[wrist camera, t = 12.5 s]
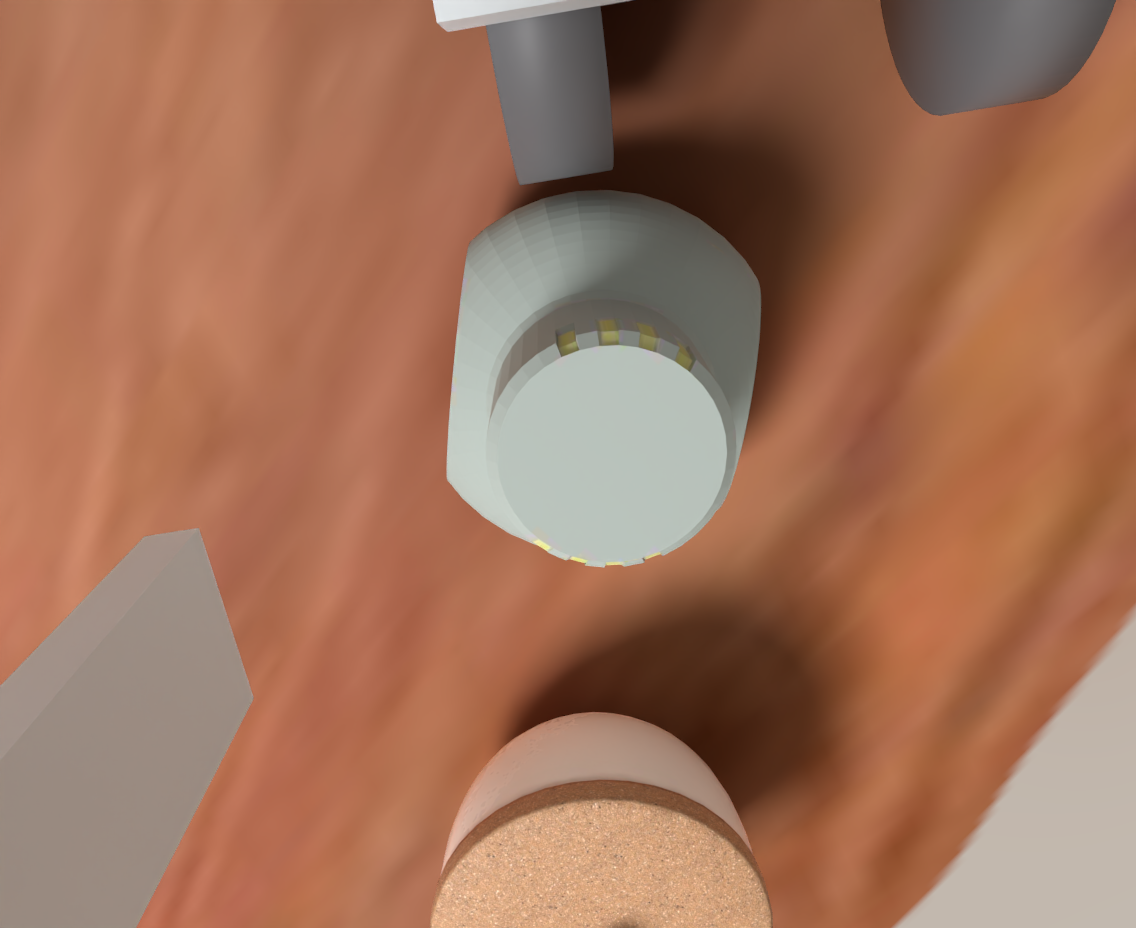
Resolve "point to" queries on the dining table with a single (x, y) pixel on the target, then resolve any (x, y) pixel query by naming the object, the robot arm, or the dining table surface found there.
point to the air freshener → (601, 375)
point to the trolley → (913, 26)
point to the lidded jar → (598, 836)
